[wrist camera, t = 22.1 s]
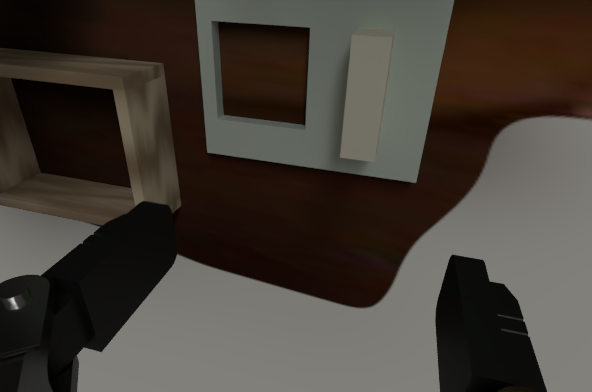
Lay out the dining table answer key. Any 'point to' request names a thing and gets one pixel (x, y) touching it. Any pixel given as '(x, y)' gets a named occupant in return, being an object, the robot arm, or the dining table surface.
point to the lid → (337, 83)
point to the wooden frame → (134, 129)
